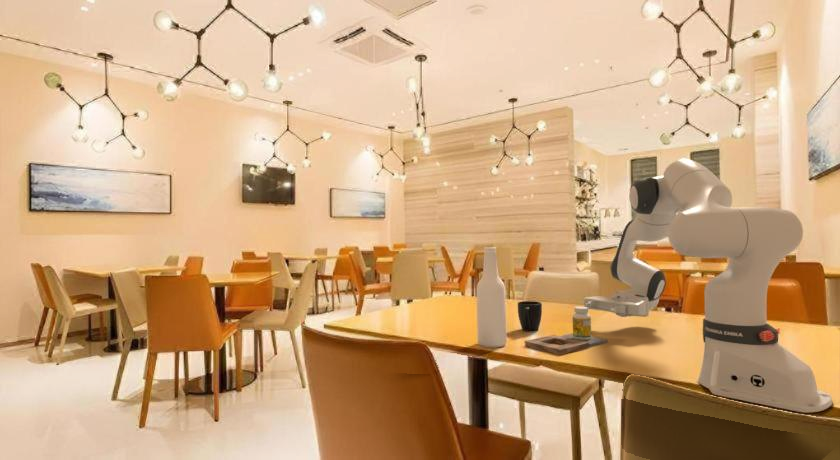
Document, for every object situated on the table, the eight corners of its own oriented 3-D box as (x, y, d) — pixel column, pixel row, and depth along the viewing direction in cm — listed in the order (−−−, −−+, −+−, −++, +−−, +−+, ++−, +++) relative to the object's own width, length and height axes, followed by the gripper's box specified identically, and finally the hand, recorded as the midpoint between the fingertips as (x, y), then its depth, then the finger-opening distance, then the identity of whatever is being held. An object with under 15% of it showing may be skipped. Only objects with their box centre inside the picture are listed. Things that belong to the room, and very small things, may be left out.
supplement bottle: (594, 339, 140) (594, 308, 140) (580, 340, 139) (579, 309, 139) (583, 335, 145) (583, 305, 145) (569, 337, 144) (568, 306, 144)
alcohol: (476, 347, 136) (473, 248, 137) (479, 340, 145) (477, 246, 145) (505, 348, 134) (503, 247, 134) (507, 341, 143) (505, 246, 143)
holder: (589, 347, 134) (589, 342, 134) (560, 355, 126) (560, 349, 126) (553, 339, 144) (553, 334, 144) (525, 346, 137) (525, 341, 137)
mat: (607, 342, 140) (607, 339, 140) (589, 346, 134) (589, 344, 134) (575, 335, 149) (574, 332, 149) (557, 339, 144) (556, 336, 144)
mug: (513, 333, 154) (512, 305, 154) (520, 326, 165) (520, 300, 165) (538, 335, 150) (537, 306, 150) (544, 328, 161) (543, 301, 161)
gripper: (597, 291, 164) (572, 295, 156) (652, 297, 147) (628, 302, 139) (597, 308, 164) (573, 313, 156) (653, 317, 147) (629, 322, 139)
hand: (599, 308), depth 148 cm, fingers open, 8 cm apart
